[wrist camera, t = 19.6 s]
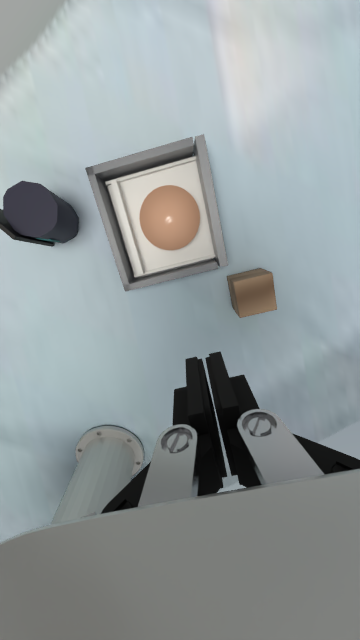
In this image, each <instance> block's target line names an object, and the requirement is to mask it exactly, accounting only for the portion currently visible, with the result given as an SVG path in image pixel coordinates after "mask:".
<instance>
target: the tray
mask: <svg viewBox="0 0 360 640" xmlns="http://www.w3.org/2000/svg"><path fill="white" fill-rule="evenodd" d="M193 153H194V157H190V158H187V159H183V160H180V161H176V162H173V163H169V164H166V165H162V166H159V167H155V168H152V169H148V170H145V171H141V172H138V173H134V174H131V175H127V176H124V177H120V178H117V179H113V180H110V181H106V182H105V183H106V185H107V186H108V189H109V193H110V196H111V199H112V202H113V206H114V209H115V212H116V216H117V219H118V222H119V226H120V229H121V232H122V235H123V239H124V242H125V245H126V249H127V252H128V255H129V258H130V262H131V265H132V268H133V272H134V277H138V276H142V275H146V274H150V273H154V272H158V271H162V270H166V269H170V268H174V267H178V266H182V265H186V264H190V263H194V262H198V261H202V260H206V259H210V258H214V259H215V261H216V262H217V265H218V266H219V267H223V266H227V265H228V262H227V257H226V251H225V246H224V240H223V235H222V229H221V224H220V218H219V213H218V208H217V202H216V197H215V191H214V186H213V180H212V175H211V169H210V164H209V159H208V153H207V148H206V142H205V137H204V134H203V135H200V136H196V137H195V141H194V148H193ZM165 185H174V186H178V187H181V188H183V189H185V190H186V191H187V192H189V193H190V194H191V195H192V197H193V198H194V199H195V201H196V203H197V205H198V208H199V212H200V224H199V228H198V231H197V233H196V235H195V237H194V238H193V240H192V241H191V242H190V243H189V244H187V245H186V246H184V247H182V248H180V249H177V250H163V249H160V248H158V247H156V246H154V245H153V244H151V243H150V242H149V241H148V240H147V238H146V237H145V235H144V234H143V232H142V229H141V226H140V219H139V217H140V209H141V206H142V203H143V201H144V199H145V198H146V197H147V195H148V194H149V193H150V192H151V191H153V190H154V189H156V188H158V187H161V186H165Z"/></svg>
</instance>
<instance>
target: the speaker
mask: <svg viewBox="0 0 360 640" xmlns="http://www.w3.org/2000/svg"><path fill="white" fill-rule="evenodd" d="M0 229H1V230H3V231H4V232H5V233H6V234H7V235H9V236H10V237H11V238H12V239H14V240H19V241H25V242H30V243H36V244H41V245H47V246H52V247H53V246H54V244H53V243H52V242H59V243H65V242H66V241H68V240H70V239H72V238H73V237H75V235H76V234H77V232H78V216H77V215H76V213H75V212H74V210H73V208H72V207H71V205H69V204H68V203H66V202H65V201H64V200H62V199H61V198H59V197H58V196H57V195H55V194H54V193H52V192H51V191H49V190H48V189H47V188H45V187H44V186H42V185H41V184H38V183H32V182H26V181H21V182H19V183H18V184H16V185H14V186H12V187H11V188H9V189H7V191H6V193H5V195H4V197H3V210H1V209H0ZM51 241H52V242H51Z"/></svg>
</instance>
